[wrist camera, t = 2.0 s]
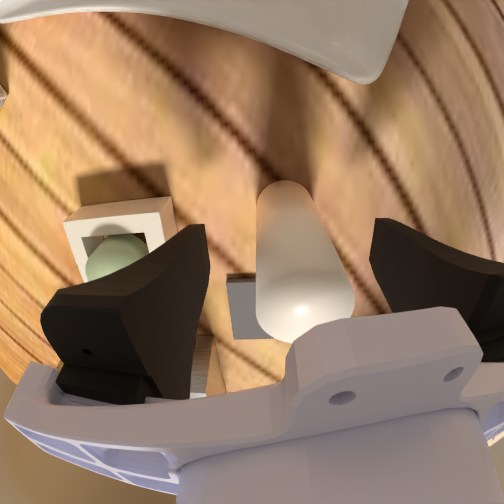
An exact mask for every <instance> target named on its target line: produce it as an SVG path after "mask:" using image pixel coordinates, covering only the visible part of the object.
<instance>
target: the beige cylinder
mask: <svg viewBox="0 0 504 504" xmlns="http://www.w3.org/2000/svg"><path fill="white" fill-rule="evenodd" d="M354 307H355V295H354V291H353V289H352V286H351V284H350V281H349V279H348V277H347V274H346V272H345V270H344V267H343V265H342V263H341V260H340V258H339V256H338V254H337V251H336V249H335V247H334V245H333V242H332V240H331V238H330V236H329V234H328V231H327V229H326V227H325V225H324V223H323V221H322V219H321V217H320V214H319V212H318V210H317V208H316V206H315V204H314V202H313V200H312V198H311V196H310V194H309V192H308V191H307V190H306V189H305V188H304V187H303V186H302V185H300V184H299V183H297V182H294V181H289V180H281V181H276V182H274V183H272V184H270V185H268V186H267V187H266V188H264V189H263V191H262V192H261V193H260V195H259V197H258V200H257V204H256V318H257V320H258V323H259V325H260V326H261V328H262V329H263V330H264V331H265V332H266V333H267V334H269V335H270V336H272V337H273V338H275V339H278V340H280V341H284V342H288V343H293V341H294V340H295V339H297V338H298V337H300V336H301V335H303V334H304V333H305V332H307V331H308V330H310V329H311V328H313V327H314V326H316V325H319V324H323V323H326V322H330V321H334V320H338V319H342V318H350V317H351V315H352V313H353V310H354Z"/></svg>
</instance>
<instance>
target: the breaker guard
mask: <svg viewBox="0 0 504 504" xmlns="http://www.w3.org/2000/svg"><path fill="white" fill-rule="evenodd" d="M63 365H64V363H63V362H62V361H61V360H60V362H59V364H58V366H57V368H56V369H57V370H59V371H61V369H62V367H63ZM220 394H226V389H225V385H224V381H223V376H222V372H221V368H220V363H219V359H218V354H217V349H216V345H215V340H214V336H205V335H197V340H196V345H195V350H194V355H193V362H192V372H191V387H190V399H194V398H201V397H207V396H214V395H220Z"/></svg>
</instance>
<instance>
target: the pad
mask: <svg viewBox="0 0 504 504" xmlns="http://www.w3.org/2000/svg"><path fill="white" fill-rule="evenodd" d="M226 285H227V293H228V300H229V308H230V315H231V322H232V330H233V337H234V339H271V338H273V337H272V336H270V335H269V334H267V333H266V332H265V331H264V330H263V329H262V328H261V326H260V325H259V323H258V320H257V318H256V278H247V279H227V281H226Z"/></svg>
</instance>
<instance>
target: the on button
mask: <svg viewBox="0 0 504 504" xmlns="http://www.w3.org/2000/svg"><path fill="white" fill-rule="evenodd" d="M147 254H149V250H148V247H147V246H146V244H145V243H144V242H143V241H142V240H140V239H139V238H138V237H136V236H134V235H132V234H115V235H108V236H107V237H106V238H105V239H104V240H103V241H102V243H101V244H100V245H99V246H98V247H97V248H96V250H95V251H94V252H93V253H92V254H91V256H90V257H89V258H88V260H87V262H86V266H85V272H86V276H87V279H88V281H92V280H95V279H98V278H101V277H103V276H106V275H108V274H111V273H113V272H115V271H117V270H119V269H122V268H124V267H126V266H128V265H130V264H132V263H134V262H136V261H137V260H139V259H141V258H143V257H144V256H146V255H147Z"/></svg>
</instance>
